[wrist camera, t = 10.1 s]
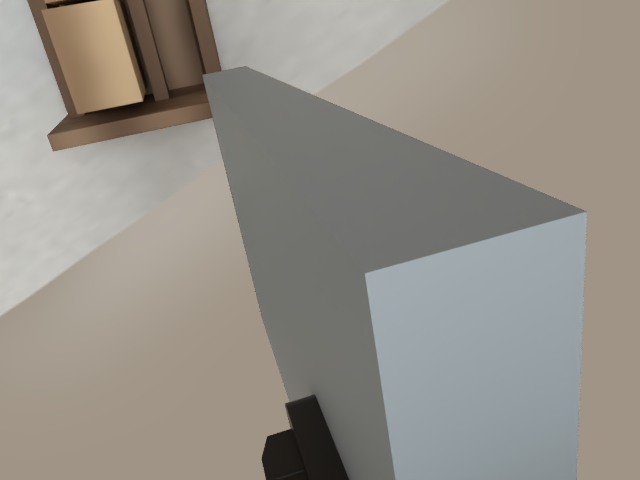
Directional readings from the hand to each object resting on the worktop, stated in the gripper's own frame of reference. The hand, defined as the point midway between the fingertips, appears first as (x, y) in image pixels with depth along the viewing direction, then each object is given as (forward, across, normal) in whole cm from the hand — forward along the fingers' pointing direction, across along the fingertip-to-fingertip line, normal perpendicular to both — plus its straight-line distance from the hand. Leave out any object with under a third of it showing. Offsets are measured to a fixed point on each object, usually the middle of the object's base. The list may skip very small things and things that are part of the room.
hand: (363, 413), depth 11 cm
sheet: (+17, 0, +1) cm, 17 cm away
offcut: (+37, +7, -7) cm, 39 cm away
